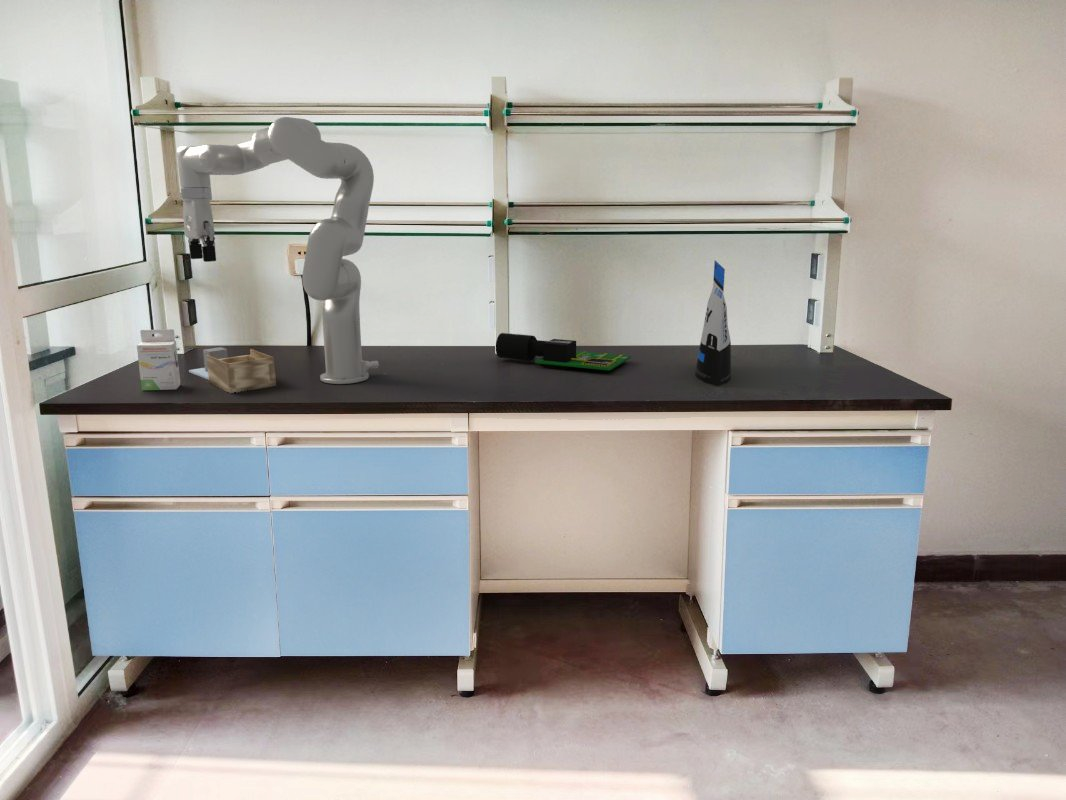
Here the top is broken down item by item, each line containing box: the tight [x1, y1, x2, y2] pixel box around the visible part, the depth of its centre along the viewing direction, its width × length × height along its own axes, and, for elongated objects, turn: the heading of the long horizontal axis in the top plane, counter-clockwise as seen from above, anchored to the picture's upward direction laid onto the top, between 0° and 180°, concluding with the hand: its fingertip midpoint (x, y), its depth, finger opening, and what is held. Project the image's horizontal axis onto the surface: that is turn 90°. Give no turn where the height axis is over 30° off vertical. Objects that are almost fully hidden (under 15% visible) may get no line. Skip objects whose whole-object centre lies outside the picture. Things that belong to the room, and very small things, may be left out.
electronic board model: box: [495, 332, 632, 371], centre depth 238 cm, size 36×8×18 cm
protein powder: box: [694, 260, 732, 388], centre depth 220 cm, size 10×24×30 cm, turn 174°
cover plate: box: [188, 346, 229, 381], centre depth 226 cm, size 10×13×7 cm
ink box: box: [136, 328, 181, 391], centre depth 209 cm, size 9×5×15 cm, turn 101°
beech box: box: [206, 348, 277, 394], centre depth 213 cm, size 12×14×8 cm
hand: (203, 260), depth 223 cm, fingers open, 9 cm apart
